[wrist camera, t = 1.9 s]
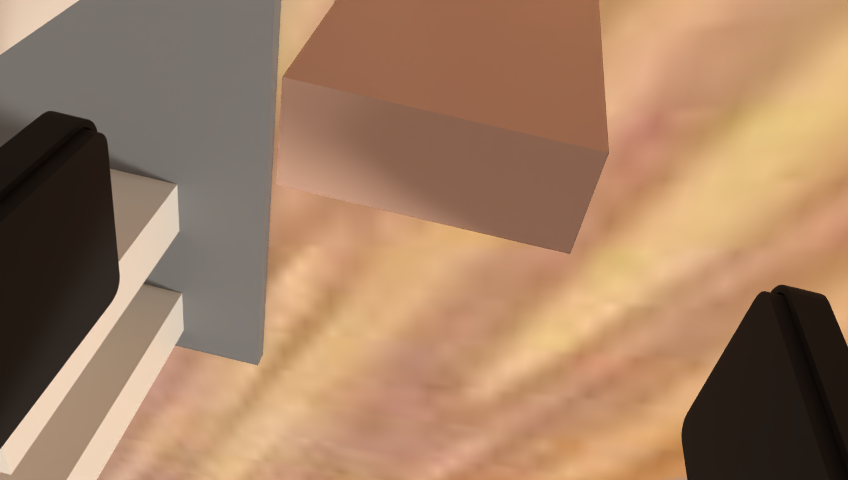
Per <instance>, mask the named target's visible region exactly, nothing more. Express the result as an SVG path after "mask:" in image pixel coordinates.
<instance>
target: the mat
mask: <svg viewBox="0 0 848 480" xmlns="http://www.w3.org/2000/svg"><path fill="white" fill-rule="evenodd" d="M280 9H281V0H79V1H77V2H76V3H74V4H73V5H72V6H70V7H69V8H67V9H66V10H64V11H63V12H61V13H60V14H59V15H57V16H56V17H54V18H53V19H51V20H50V21H48V22H47V23H46V24H44V25H43V26H41V27H40V28H38V29H37V30H35V31H34V32H32V33H31V34H30V35H28V36H27V37H25V38H24V39H22V40H21V41H19V42H18V43H17V44H15V45H14V46H12V47H11V48H9V49H8V50H6V51H5V52H4V53H2V54H1V55H0V147H1V146H2V145H4V144H5V143H6V142H7V141H9V140H10V139H11V138H13V137H14V136H15V135H16V134H18V133H19V132H20V131H21V130H23V129H24V128H25V127H26V126H28V125H29V124H30V123H31V122H33V121H34V120H35V119H36V118H38V117H39V116H40V115H42V114H43V113H45V112H47V111H55V112H60V113H64V114H68V115H72V116H76V117H81V118H85V119H89V120H91V121H92V122H94V124H95V126H96V128H97V132H99V133H102V134H104V135H105V137H106V139H107V143H108V153H109V163H110V169H114V170H118V171H122V172H126V173H131V174H135V175H139V176H143V177H148V178H152V179H156V180H160V181H165V182H169V183H173V184H177V190H178V212H179V232H178V234H177V235H176V237H175V238H174V240H173V241H172V242H171V244H170V245H169V247H168V248H167V250H166V251H165V253H164V254H163V255H162V257H161V258H160V260H159V261H158V263H157V264H156V266H155V267H154V268H153V270H152V271H151V273H150V274H149V276H148V277H147V279H146V280H145V282H144V283H143V284H145V285H150V286H154V287H158V288H162V289H166V290H171V291H175V292H179V293H182V302H183V324H184V331H183V332H182V334H181V336H180V338H179V339H178V341H177V343H176V344H175V345H176V346H180V347H184V348H188V349H192V350H196V351H201V352H205V353H209V354H213V355H217V356H221V357H226V358H230V359H234V360H238V361H242V362H246V363H251V364H255V365H258V364H259V361H260V359H261V357H262V355H263V339H264V319H265V300H266V280H267V261H268V242H269V222H270V203H271V183H272V164H273V145H274V125H275V106H276V86H277V67H278V47H279V28H280Z"/></svg>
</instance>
